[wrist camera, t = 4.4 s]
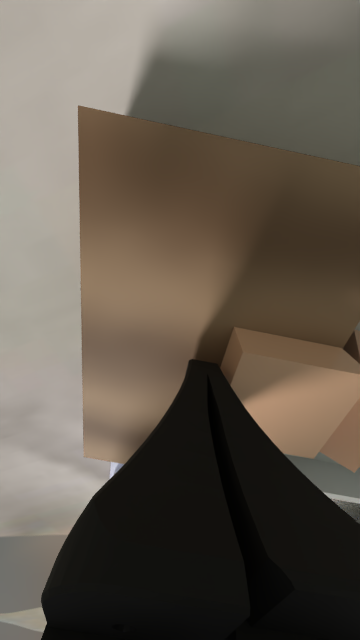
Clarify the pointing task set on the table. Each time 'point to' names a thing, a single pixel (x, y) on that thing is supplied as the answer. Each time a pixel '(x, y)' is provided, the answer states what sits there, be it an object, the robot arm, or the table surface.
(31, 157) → the table surface
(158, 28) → the table surface
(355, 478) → the tray
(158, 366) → the board
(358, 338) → the tile rear
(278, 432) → the tile front
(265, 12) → the table surface
